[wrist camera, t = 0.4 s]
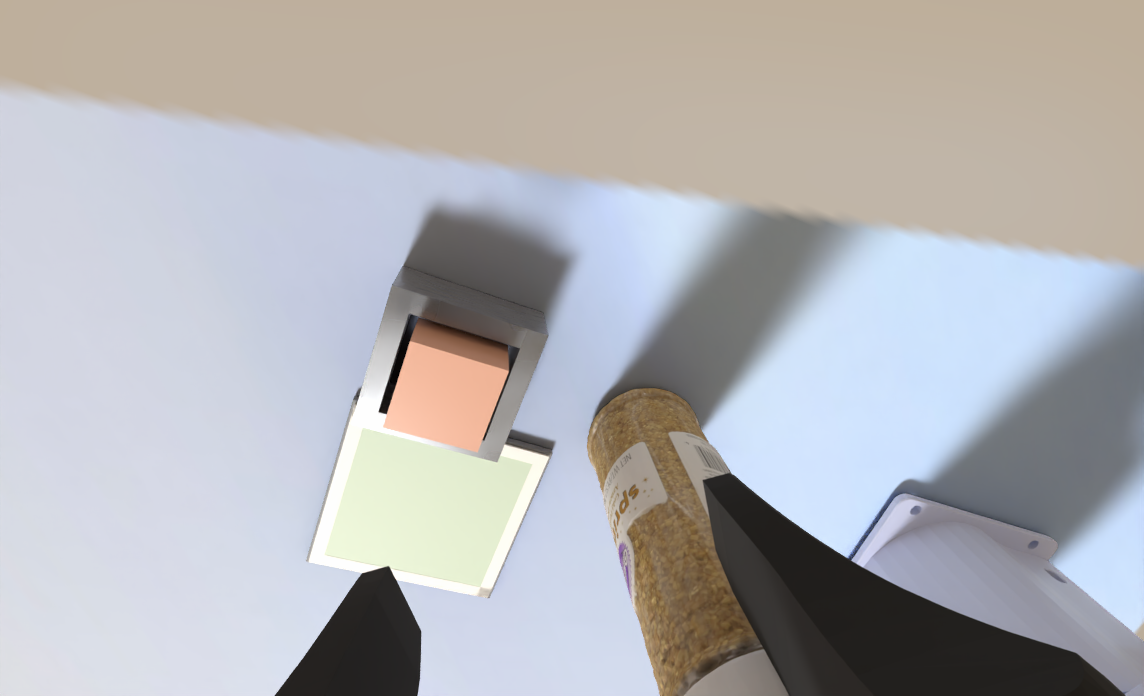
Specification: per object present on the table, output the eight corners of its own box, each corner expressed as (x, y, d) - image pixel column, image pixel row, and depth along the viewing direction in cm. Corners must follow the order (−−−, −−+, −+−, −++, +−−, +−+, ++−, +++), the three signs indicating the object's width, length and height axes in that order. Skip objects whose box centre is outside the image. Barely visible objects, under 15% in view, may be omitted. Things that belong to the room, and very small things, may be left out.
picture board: (551, 449, 23) (552, 455, 23) (489, 592, 26) (489, 600, 25) (354, 395, 21) (352, 401, 21) (308, 555, 24) (305, 563, 23)
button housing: (543, 312, 21) (548, 335, 19) (497, 429, 22) (497, 462, 20) (402, 265, 20) (391, 285, 18) (364, 393, 21) (351, 424, 19)
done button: (508, 345, 20) (509, 370, 18) (479, 420, 20) (477, 452, 19) (418, 317, 19) (410, 341, 17) (393, 396, 20) (382, 427, 18)
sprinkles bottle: (567, 413, 22) (656, 797, 10) (676, 364, 22) (904, 699, 10) (611, 499, 24) (731, 911, 12) (712, 455, 24) (941, 830, 12)
